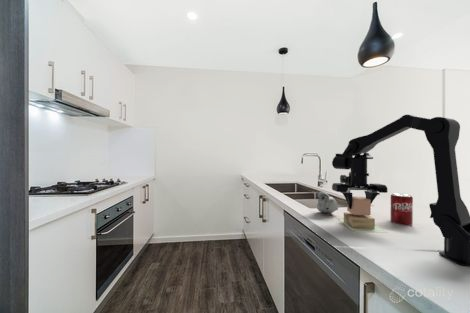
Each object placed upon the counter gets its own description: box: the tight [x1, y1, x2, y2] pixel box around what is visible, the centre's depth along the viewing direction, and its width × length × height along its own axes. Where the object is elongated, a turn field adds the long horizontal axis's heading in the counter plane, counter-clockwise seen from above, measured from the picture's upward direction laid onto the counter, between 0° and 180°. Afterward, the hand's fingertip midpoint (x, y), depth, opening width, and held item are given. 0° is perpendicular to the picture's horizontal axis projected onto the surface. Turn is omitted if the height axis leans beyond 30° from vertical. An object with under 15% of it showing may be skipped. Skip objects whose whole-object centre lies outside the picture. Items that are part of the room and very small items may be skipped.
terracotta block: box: [346, 195, 372, 216], centre depth 83 cm, size 6×6×6 cm
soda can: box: [389, 193, 414, 227], centre depth 87 cm, size 7×7×12 cm
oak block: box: [343, 211, 376, 229], centre depth 83 cm, size 8×8×4 cm
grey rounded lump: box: [316, 190, 339, 215], centre depth 98 cm, size 10×10×12 cm
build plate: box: [336, 217, 388, 233], centre depth 84 cm, size 16×12×1 cm
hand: (358, 209), depth 83 cm, fingers closed on terracotta block, 6 cm apart
